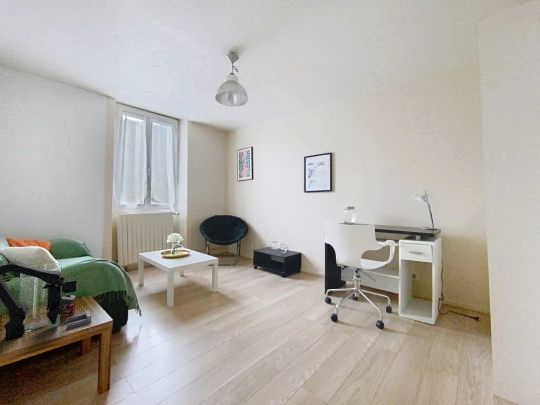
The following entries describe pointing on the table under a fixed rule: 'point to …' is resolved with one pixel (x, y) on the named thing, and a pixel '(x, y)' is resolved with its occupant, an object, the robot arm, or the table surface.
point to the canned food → (68, 309)
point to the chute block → (55, 322)
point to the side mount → (78, 317)
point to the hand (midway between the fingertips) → (53, 322)
